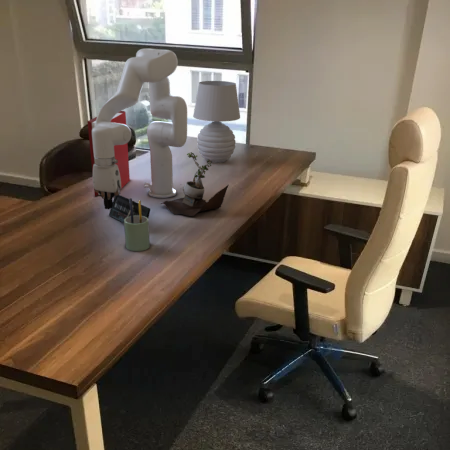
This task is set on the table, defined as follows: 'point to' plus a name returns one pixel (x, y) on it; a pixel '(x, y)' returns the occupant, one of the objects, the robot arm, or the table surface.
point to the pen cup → (136, 230)
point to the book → (119, 150)
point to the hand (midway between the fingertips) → (108, 208)
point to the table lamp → (216, 119)
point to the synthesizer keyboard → (126, 208)
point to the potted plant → (195, 195)
